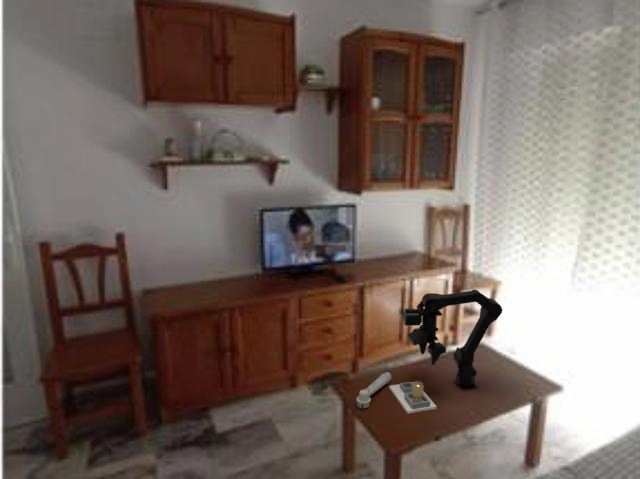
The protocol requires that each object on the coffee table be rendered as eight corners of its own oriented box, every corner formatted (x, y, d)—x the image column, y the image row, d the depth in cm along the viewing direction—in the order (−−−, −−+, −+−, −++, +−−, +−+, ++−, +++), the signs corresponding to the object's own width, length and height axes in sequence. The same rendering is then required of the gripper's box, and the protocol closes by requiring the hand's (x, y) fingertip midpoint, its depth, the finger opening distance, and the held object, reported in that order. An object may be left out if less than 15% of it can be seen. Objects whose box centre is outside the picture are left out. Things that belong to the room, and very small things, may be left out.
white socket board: (415, 383, 188) (415, 377, 187) (436, 408, 171) (436, 401, 170) (389, 388, 185) (389, 381, 184) (407, 413, 168) (407, 406, 167)
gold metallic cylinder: (419, 398, 176) (420, 380, 174) (424, 404, 172) (425, 386, 170) (409, 399, 175) (410, 381, 173) (414, 406, 171) (415, 387, 169)
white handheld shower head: (393, 373, 190) (366, 394, 169) (392, 387, 190) (365, 410, 170) (382, 369, 192) (354, 390, 172) (381, 384, 193) (353, 406, 173)
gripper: (401, 317, 187) (400, 351, 191) (421, 337, 170) (419, 373, 173) (425, 314, 190) (424, 348, 193) (447, 333, 172) (445, 369, 176)
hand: (427, 359), depth 184 cm, fingers open, 9 cm apart
